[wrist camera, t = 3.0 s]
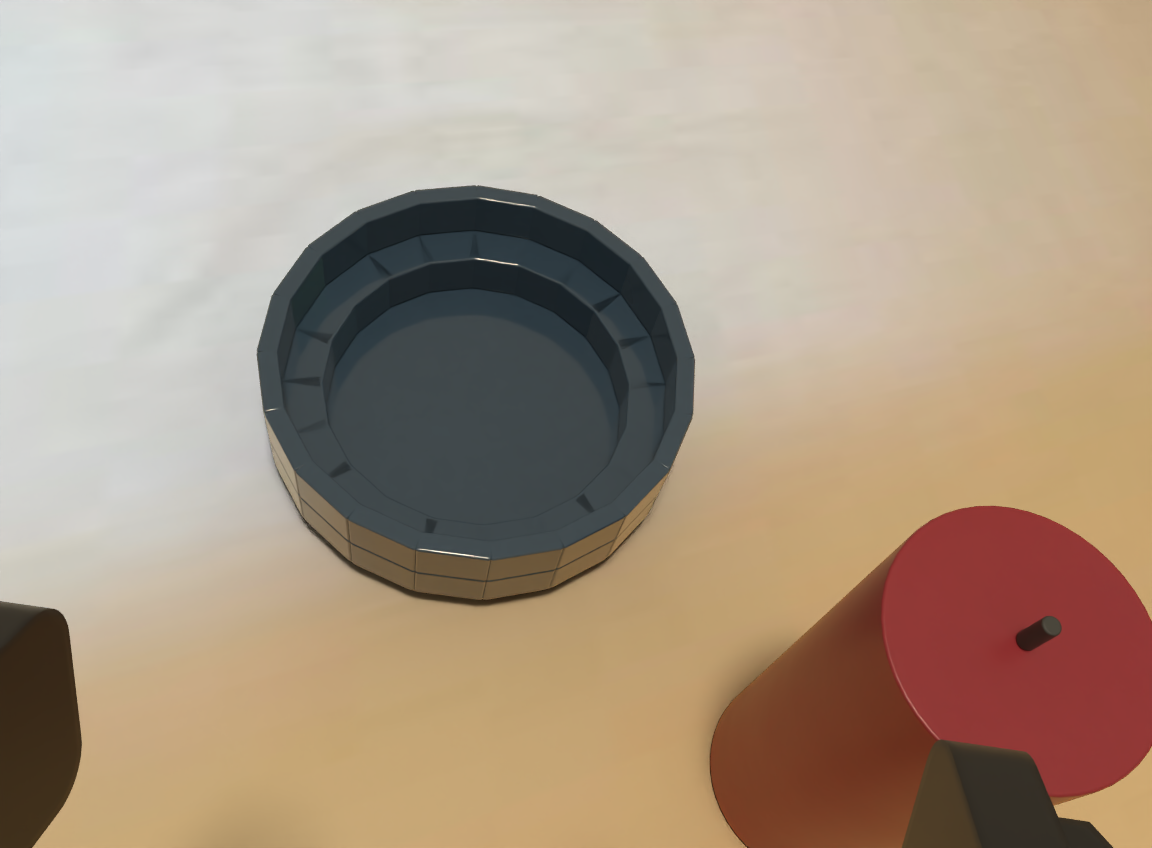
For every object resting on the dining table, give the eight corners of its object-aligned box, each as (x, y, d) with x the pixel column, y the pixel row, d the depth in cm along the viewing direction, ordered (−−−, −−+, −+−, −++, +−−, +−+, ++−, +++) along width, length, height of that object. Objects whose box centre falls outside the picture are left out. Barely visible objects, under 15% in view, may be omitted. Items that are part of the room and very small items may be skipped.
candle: (672, 733, 32) (841, 564, 20) (821, 642, 34) (1055, 439, 22) (785, 917, 30) (1048, 853, 18) (935, 808, 32) (1263, 685, 20)
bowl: (207, 340, 36) (187, 269, 33) (544, 212, 41) (557, 138, 37) (385, 681, 32) (384, 640, 28) (740, 493, 36) (777, 438, 33)
